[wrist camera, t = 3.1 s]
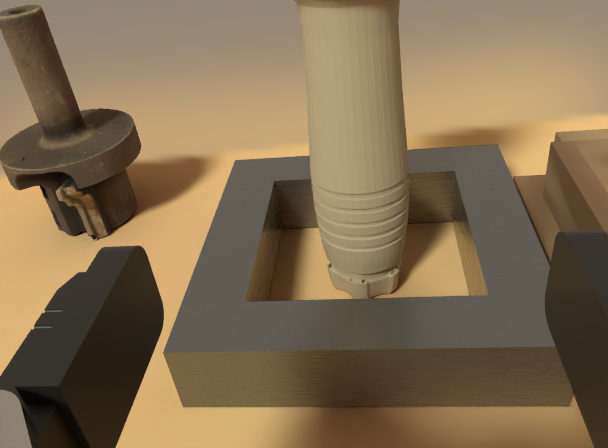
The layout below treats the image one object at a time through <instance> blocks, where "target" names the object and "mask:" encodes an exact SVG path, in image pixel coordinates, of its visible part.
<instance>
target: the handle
mask: <svg viewBox="0 0 608 448" xmlns="http://www.w3.org/2000/svg"><path fill="white" fill-rule="evenodd" d="M295 1H296V2H297V6H298V11H299V15H300V20H301V26H302V31H303V44H304V59H305V74H306V89H307V106H308V127H309V128H308V129H309V151H310V173H311V183H312V190H313V200H314V205H315V212H316V217H317V222H318V227H319V231H320V235H321V239H322V243H323V246H324V249H325V252H326V255H327V258H328V260H329V261H330V262H331V263H330V264H328V265H327V266H328V271H329V275H330V278H331V281H332V284H333V286H334V287H335V288H336V289H340V290H343V291H346V292H348V293H349V294H351V295H352V297H353V298H354V299H369V298H371V297H373V296H376V295H380V294H386V293H388V294H390V293H391V292H392V291H394V290H395V289H396V288H397V285H398V280H399V272H400V269H401V263H402V252H403V248H404V243H405V238H406V231H407V221H408V208H409V171H408V170H409V164H408V152H407V140H406V128H405V118H404V105H403V92H402V77H401V60H400V44H399V27H398V17H399V1H400V0H295Z"/></svg>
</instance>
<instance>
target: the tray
mask: <svg viewBox="0 0 608 448" xmlns="http://www.w3.org/2000/svg"><path fill="white" fill-rule="evenodd" d="M513 182H514V184H515V186H516V189H517V191H518V193H519V196H520V198H521V200H522V203H523V205H524V207H525V210H526V212H527V214H528V217H529V219H530V221H531V224H532V226H533V228H534V231H535V233H536V235H537V238H538V240H539V242H540V245H541V247H542V249H543V252H544V254H545V256H546V258H547V261H548V263H549V265H550V263H551V258H552V252H553V247H554V241H555V238H556V235H557V233H558V232H560V231H580V230H604V231H606V232H607V234H608V129H600V130H584V131H568V132H556V135H555V141H554V142H551V144H550V151H549V158H548V164H547V171H546V175H533V176H515V177H513Z"/></svg>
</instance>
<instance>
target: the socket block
mask: <svg viewBox="0 0 608 448" xmlns="http://www.w3.org/2000/svg"><path fill="white" fill-rule="evenodd" d="M407 152H408V164H409V170H408V171H409V208H408V221H407V223H423V222H446V221H452V222H453V226H454V230H455V234H456V239H457V243H458V247H459V252H460V256H461V260H462V265H463V269H464V273H465V277H466V282H467V286H468V290H469V295H470V296H444V297H407V298H370V299H333V300H296V301H268V298H269V293H270V287H271V282H272V277H273V272H274V267H275V262H276V257H277V251H278V246H279V241H280V236H281V231H282V229H287V228H310V227H318V222H317V217H316V212H315V205H314V200H313V190H312V183H311V173H310V156H298V157H281V158H265V159H248V160H235V162H234V165H233V168H232V170H231V173H230V176H229V178H228V181H227V184H226V186H225V189H224V192H223V194H222V197H221V200H220V202H219V205H218V208H217V210H216V213H215V216H214V218H213V221H212V224H211V226H210V229H209V232H208V234H207V237H206V240H205V242H204V245H203V248H202V250H201V253H200V256H199V259H198V261H197V264H196V267H195V269H194V272H193V275H192V277H191V280H190V283H189V285H188V288H187V291H186V293H185V296H184V299H183V301H182V304H181V307H180V309H179V312H178V315H177V317H176V320H175V323H174V325H173V328H172V331H171V333H170V336H169V339H168V341H167V344H166V347H165V349H164V352H163V353H164V356H165V359H166V362H167V364H168V367H169V370H170V373H171V375H172V378H173V381H174V383H175V386H176V389H177V392H178V394H179V397H180V400H181V403H182V405H183V407H373V406H570V403H571V398H572V394H573V390H572V388H571V385H570V382H569V380H568V377H567V375H566V372H565V369H564V367H563V364H562V361H561V359H560V356H559V354H558V351H557V348H556V346H555V343H554V341H553V338H552V335H551V333H550V330H549V327H548V324H547V320H546V314H545V291H546V286H547V280H548V275H549V269H550V265H549V263H548V261H547V258H546V256H545V254H544V252H543V249H542V247H541V245H540V242H539V240H538V238H537V235H536V233H535V231H534V228H533V226H532V224H531V221H530V219H529V217H528V214H527V212H526V210H525V207H524V205H523V203H522V200H521V198H520V196H519V193H518V191H517V189H516V186H515V184H514V182H513V179H512V177H511V175H510V172H509V170H508V168H507V166H506V163H505V161H504V159H503V156H502V154H501V152H500V149H499V147H498V145H497V144H496V145H479V146H463V147H446V148H430V149H413V150H407Z"/></svg>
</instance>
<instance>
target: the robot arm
mask: <svg viewBox="0 0 608 448" xmlns="http://www.w3.org/2000/svg"><path fill="white" fill-rule="evenodd" d="M545 314H546V320H547V324H548V327H549V330H550V333H551V335H552V338H553V341H554V343H555V346H556V348H557V351H558V354H559V356H560V359H561V361H562V364H563V367H564V369H565V372H566V375H567V377H568V380H569V382H570V385H571V388H572V390H573V393H574V395H575V398H576V401H577V403H578V406H579V409H580V411H581V414H582V416H583V419H584V422H585V424H586V427H587V429H588V432H589V435H590V437H591V440H592V443H593V445H594V448H608V234H607V232H606V231H604V230H580V231H560V232H558V233H557V235H556V238H555V241H554V247H553V252H552V258H551V263H550V269H549V275H548V280H547V286H546V291H545ZM163 321H164V310H163V303H162V300H161V296H160V293H159V290H158V287H157V284H156V281H155V278H154V275H153V272H152V269H151V266H150V263H149V260H148V257H147V254H146V252H145V250H144V249H143V248H142V247H141V246H120V247H103V248H102V249H100V251H99V252H98V253H97V255H96V257H95V258H94V260H93V261H92V263H91V265H90V266H89V268H88V270H87V271H86V272H78V273H77V274H76V275H75V276H74V277H72V278H71V279H70V280H69V281H68V282H66V283H65V284H64V285H63V286H62V287H60V288H59V289H58V290H57V291H56V293H55V294H54V296H53V297H52V299H51V300H50V302H49V303H48V305H47V307H46V308H45V313H42V314H41V316H40V317H39V319H38V320H37V322H36V323H35V325H34V329H33V330H31V331H30V332H29V334H28V335H27V337H26V338H25V340H24V341H23V343H22V344H21V346H20V347H19V349H18V350H17V352H16V353H15V355H14V356H13V358H12V359H11V361H10V363H9V364H8V366H7V367H6V369H5V370H4V372H3V373H2V375H1V376H0V448H115V447H116V445H117V442H118V440H119V437H120V435H121V432H122V430H123V427H124V425H125V422H126V420H127V417H128V415H129V412H130V410H131V407H132V405H133V402H134V400H135V397H136V395H137V392H138V390H139V387H140V385H141V382H142V379H143V377H144V374H145V372H146V369H147V367H148V364H149V362H150V359H151V357H152V354H153V352H154V349H155V347H156V344H157V342H158V339H159V337H160V334H161V331H162V327H163Z"/></svg>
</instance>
